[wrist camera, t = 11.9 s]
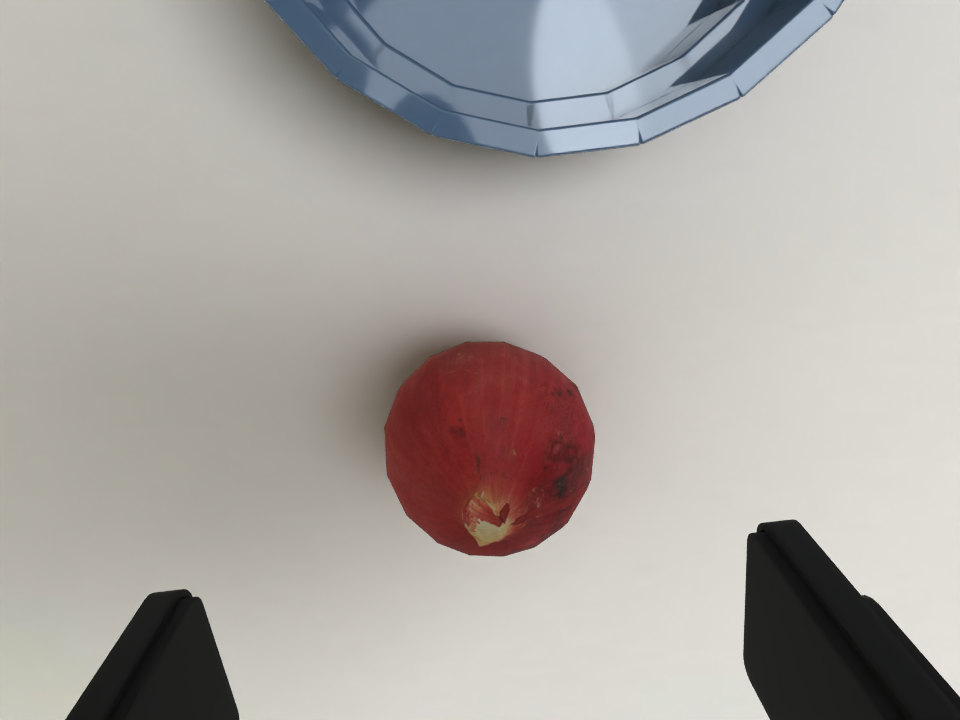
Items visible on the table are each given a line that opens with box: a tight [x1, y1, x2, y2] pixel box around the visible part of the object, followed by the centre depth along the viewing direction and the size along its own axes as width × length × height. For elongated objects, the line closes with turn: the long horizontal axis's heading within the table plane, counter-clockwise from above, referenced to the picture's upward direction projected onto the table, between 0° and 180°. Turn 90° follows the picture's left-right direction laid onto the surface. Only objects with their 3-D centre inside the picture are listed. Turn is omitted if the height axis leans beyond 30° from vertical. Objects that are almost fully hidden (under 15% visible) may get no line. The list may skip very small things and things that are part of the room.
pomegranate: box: [384, 342, 595, 556], centre depth 18 cm, size 6×6×8 cm
